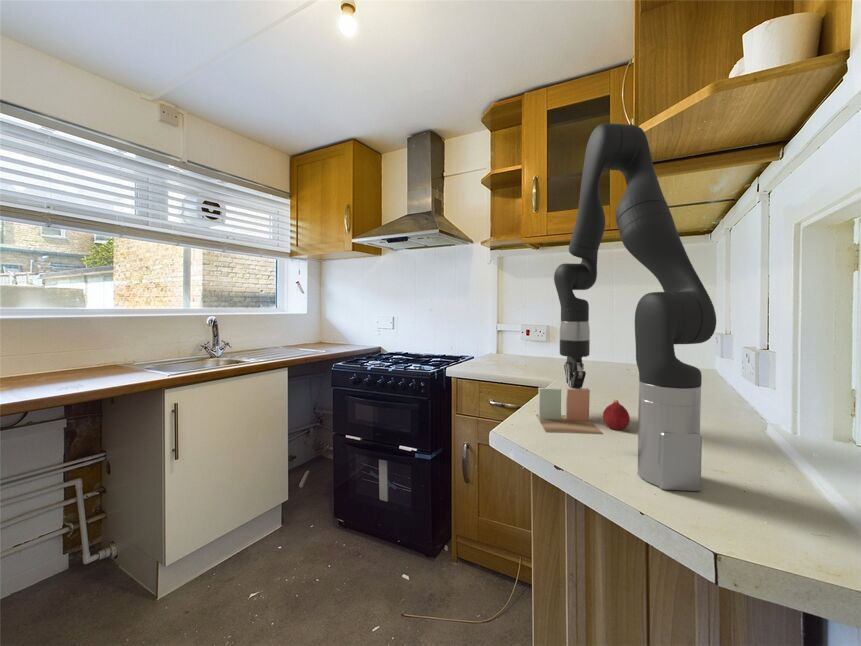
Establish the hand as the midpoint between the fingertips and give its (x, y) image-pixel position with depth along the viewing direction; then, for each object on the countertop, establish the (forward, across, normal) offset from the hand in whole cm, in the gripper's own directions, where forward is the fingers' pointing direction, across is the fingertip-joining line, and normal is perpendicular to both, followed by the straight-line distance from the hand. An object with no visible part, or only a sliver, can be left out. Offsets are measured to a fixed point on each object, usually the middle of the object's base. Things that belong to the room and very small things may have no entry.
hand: (574, 401), depth 100 cm
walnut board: (+5, -8, +4) cm, 10 cm away
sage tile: (+4, -4, +7) cm, 9 cm away
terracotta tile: (+4, -4, 0) cm, 5 cm away
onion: (+5, -10, -7) cm, 13 cm away
